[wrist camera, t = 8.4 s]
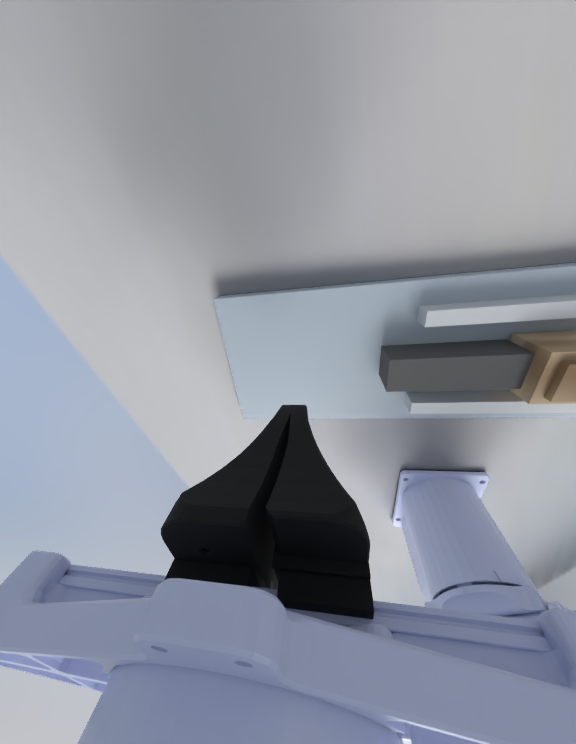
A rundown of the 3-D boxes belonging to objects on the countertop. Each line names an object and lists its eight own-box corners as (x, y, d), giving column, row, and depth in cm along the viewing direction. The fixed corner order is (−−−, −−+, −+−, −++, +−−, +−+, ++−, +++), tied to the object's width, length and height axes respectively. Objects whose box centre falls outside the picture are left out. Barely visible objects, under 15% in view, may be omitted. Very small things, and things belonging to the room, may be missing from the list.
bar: (495, 370, 17) (520, 388, 15) (378, 374, 18) (386, 391, 16) (506, 339, 16) (535, 353, 14) (381, 345, 17) (389, 360, 15)
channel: (585, 407, 19) (654, 450, 15) (246, 411, 23) (231, 444, 19) (678, 253, 13) (820, 256, 10) (219, 296, 18) (191, 310, 14)
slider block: (561, 377, 16) (617, 408, 13) (496, 379, 17) (535, 409, 14) (585, 329, 15) (655, 352, 12) (512, 333, 15) (560, 356, 12)
